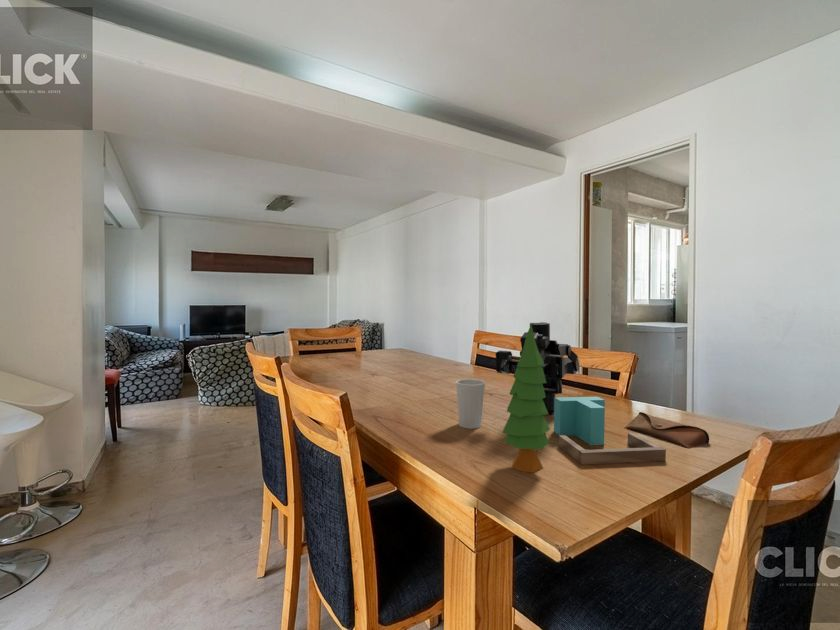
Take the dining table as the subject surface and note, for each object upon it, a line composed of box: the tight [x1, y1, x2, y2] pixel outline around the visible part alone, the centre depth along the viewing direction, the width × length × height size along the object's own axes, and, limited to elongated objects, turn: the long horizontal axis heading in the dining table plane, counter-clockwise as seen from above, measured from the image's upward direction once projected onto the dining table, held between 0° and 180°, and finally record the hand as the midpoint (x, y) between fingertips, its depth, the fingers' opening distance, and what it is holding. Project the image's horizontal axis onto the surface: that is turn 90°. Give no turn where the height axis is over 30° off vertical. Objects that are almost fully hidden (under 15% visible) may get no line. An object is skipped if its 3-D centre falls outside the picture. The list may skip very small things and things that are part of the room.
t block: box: [553, 396, 606, 446], centre depth 100 cm, size 10×12×9 cm
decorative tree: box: [502, 324, 551, 473], centre depth 82 cm, size 10×9×30 cm
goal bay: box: [558, 432, 667, 466], centre depth 90 cm, size 11×19×2 cm, turn 96°
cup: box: [455, 378, 486, 430], centre depth 109 cm, size 8×8×12 cm
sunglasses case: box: [623, 411, 710, 449], centre depth 102 cm, size 18×7×7 cm, turn 29°
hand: (517, 371), depth 103 cm, fingers open, 9 cm apart
